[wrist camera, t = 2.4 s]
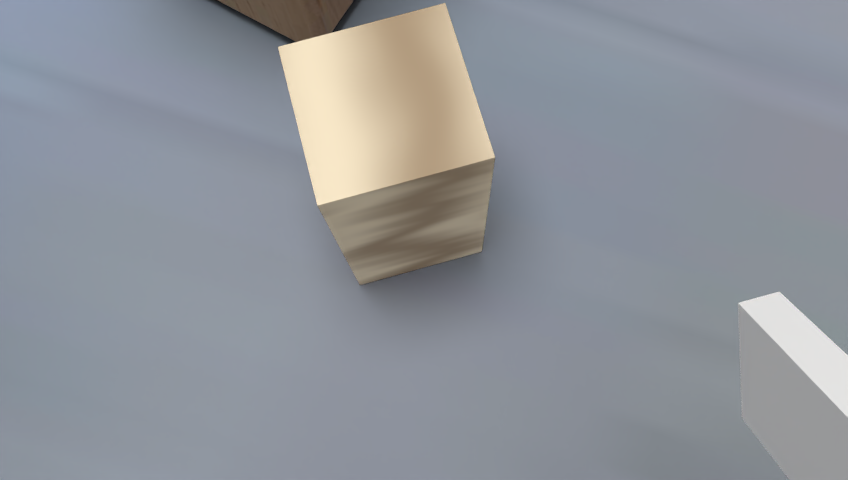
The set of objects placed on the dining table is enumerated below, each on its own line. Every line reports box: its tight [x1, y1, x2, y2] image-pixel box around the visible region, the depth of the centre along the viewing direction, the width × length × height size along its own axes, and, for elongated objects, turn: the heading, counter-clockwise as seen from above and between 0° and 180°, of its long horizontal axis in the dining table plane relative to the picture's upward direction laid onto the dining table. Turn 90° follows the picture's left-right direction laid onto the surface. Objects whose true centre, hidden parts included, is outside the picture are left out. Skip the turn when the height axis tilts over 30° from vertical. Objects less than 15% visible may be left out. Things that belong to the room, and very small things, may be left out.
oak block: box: [278, 3, 495, 285], centre depth 32 cm, size 6×6×12 cm
